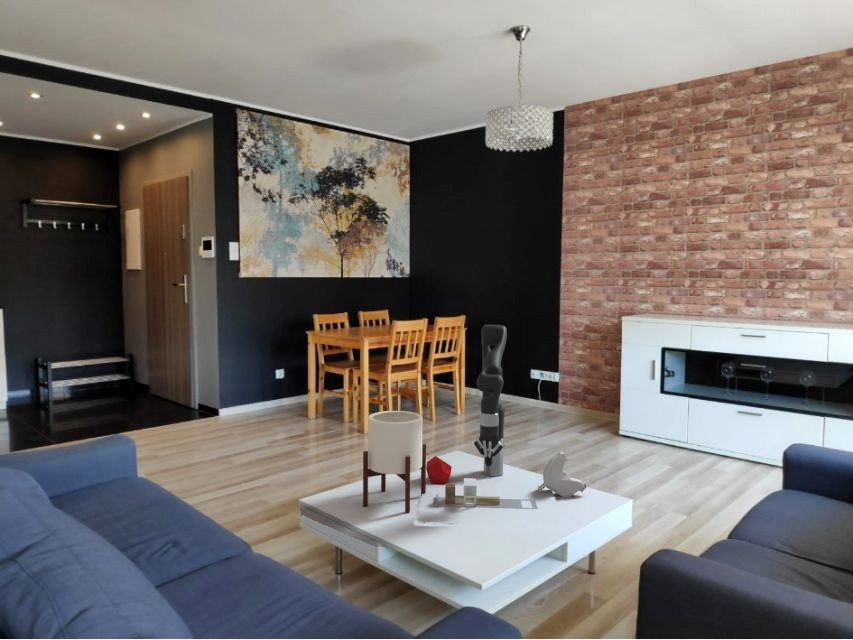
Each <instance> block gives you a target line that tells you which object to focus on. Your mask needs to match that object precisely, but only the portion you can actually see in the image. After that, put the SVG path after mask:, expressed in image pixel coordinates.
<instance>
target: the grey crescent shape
mask: <svg viewBox="0 0 853 640" xmlns="http://www.w3.org/2000/svg"><path fill="white" fill-rule="evenodd" d="M566 461H567V457H566V454H565V453H564V452H561V451H560V452H558V453H557V454H555V455H554V456H552V457H551V458H550V459H549V460H548V462H547V464H546V465H545V467H544V468H543V471H542V479H543V483H542V484H541V485H537V490H538V492H539V493H541V491H543V490H544V489H545V488H547V489H548V490H550V491H552V492H554V493H556V494H557V496H560V497H572V496H573V495H575V494H576V493H577V492H581V493H583V492H584V491H585V490H586V488H587V485H586V483H584V482H582V480H580V479H577V478H574V477H571V476H569V474H568V473H567V472H566V470H564V466H565V464H566Z"/></svg>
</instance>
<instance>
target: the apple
mask: <svg viewBox="0 0 853 640" xmlns="http://www.w3.org/2000/svg"><path fill="white" fill-rule="evenodd" d="M451 474H452V465H450V464H449V463H448V462H446V461H444V460H443V459H442V458H440V457H438V456H436V455H435V456H433V457H431V458H430V459H429V460H428V461H427V460H426V475H427V477H428V480H429V482H430V483H432V484H434V485H435V486H437V485H439V486H440V485H445V484H446V483H448V481H449V479H450V477H451Z"/></svg>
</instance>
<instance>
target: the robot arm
mask: <svg viewBox="0 0 853 640" xmlns="http://www.w3.org/2000/svg"><path fill="white" fill-rule="evenodd" d="M507 337H508V331H507V327H506V326H505V325H501V324H484V325H483V326H482V328H481V348H482V349H481V350H482V366H481V372H480V374H479V375H478V377H477V379H476V386H477V387H476V388H477V389H478V390H479V391H480V392H482V396H481V397H482V398H481V400H480V415H479V417H480V418H479V437H478V439H477V440H475V441H474V442H473V444H474V446H475V448H476V449H477V451H478V452H479V454H480V455H482V456H483V474H484V475H486V476H489V477H500V476H503V475H504V448H505V444H504V438H505V437H504V436H505V435H504V430H505V429H504V425H505V407H504V405H503V404H499V403H500V398H501V394H502V393H501V392H502V391H503V390H502V389H503V387H504V379H503V368H502V366H501V364H502V359H503V354H504V351H505V348H506V344H507V339H508V338H507ZM490 346H491V347H493V346H495V347H493V348H492V349H491V347H490Z"/></svg>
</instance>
